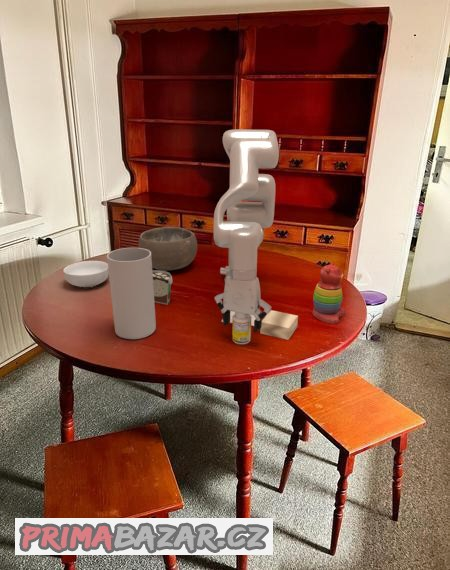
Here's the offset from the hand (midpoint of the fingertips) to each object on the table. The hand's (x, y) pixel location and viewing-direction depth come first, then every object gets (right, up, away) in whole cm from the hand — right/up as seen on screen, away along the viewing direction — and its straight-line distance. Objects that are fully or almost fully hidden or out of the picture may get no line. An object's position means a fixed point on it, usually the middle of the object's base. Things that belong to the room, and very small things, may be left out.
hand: (241, 327), depth 127 cm
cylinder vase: (-33, -2, +8) cm, 34 cm away
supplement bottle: (0, -4, +2) cm, 5 cm away
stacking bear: (+29, +2, +18) cm, 34 cm away
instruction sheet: (0, +1, +15) cm, 15 cm away
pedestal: (+12, -2, +8) cm, 15 cm away
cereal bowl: (-58, +13, +41) cm, 73 cm away
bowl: (-29, +20, +59) cm, 69 cm away
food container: (-28, +7, +29) cm, 41 cm away
